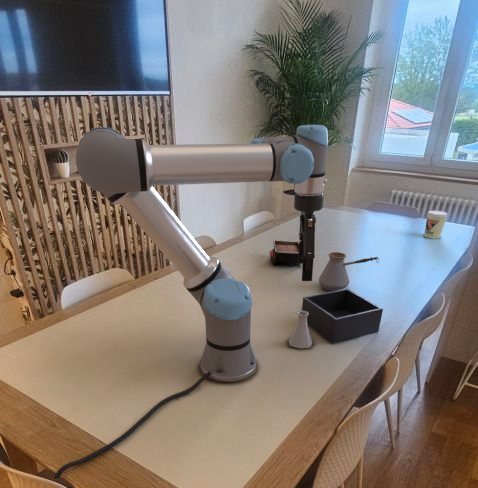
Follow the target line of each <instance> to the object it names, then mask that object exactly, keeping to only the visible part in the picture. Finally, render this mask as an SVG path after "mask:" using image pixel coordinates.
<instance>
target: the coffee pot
mask: <svg viewBox="0 0 478 488" xmlns="http://www.w3.org/2000/svg"><path fill="white" fill-rule="evenodd" d="M328 257H329V260H328V262H327V263H326V265H325V267H324V269H323V270H322V272H321V273H320V276H319V278H318V283H319V285H320V286H321V287H322V289H324V290H325V291H328V292H332V291H337V290H342V289H346V288H347V287H348V286H349V284H350V278H349V275H348V272H347V268H346V266H349V265H354V264H355V265H356V264H362V263H367V262H373V261H374V260H375V262H376V264H379V263H380V261H378V260H380V258H379V256H374V257H370V258H369V257H368V258H367V257H366V258H361V259H357V260H354V261H349V262H345V258H347V254H345V253H344V252H338V251H336V252H335V251H334V252H333V251H332V252H329V253H328Z"/></svg>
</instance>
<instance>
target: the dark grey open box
mask: <svg viewBox="0 0 478 488" xmlns="http://www.w3.org/2000/svg"><path fill="white" fill-rule="evenodd" d="M301 311H306V312H308V316H307V326H309V327H310V329H311V328H312V330H313V331H315V332H317V333H318V334H320V335H321V336H322V337H323V338H324V339H326V340H327V341H328V342H330V344H336V343H341V342H344V341H348V340H353V339H357V338H360V337H363V336H369V335H371V334H376V333H379V330H380V326H381V322H382V321H381V320H382V317H383V311H384V308H383V307H381V306H380V305H377V304H376V303H374V302H372V301H370V300H368V299H367V298H365V297H364V296H362V295H360V294H358V293H356V292H354V291H353V290H351V289H349V288H347V287H346V288H344V289H342V290H337V291H328V292H323V293H322V292H321V293H318V294H313V295H308V296H303V297H302V304H301Z"/></svg>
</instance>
